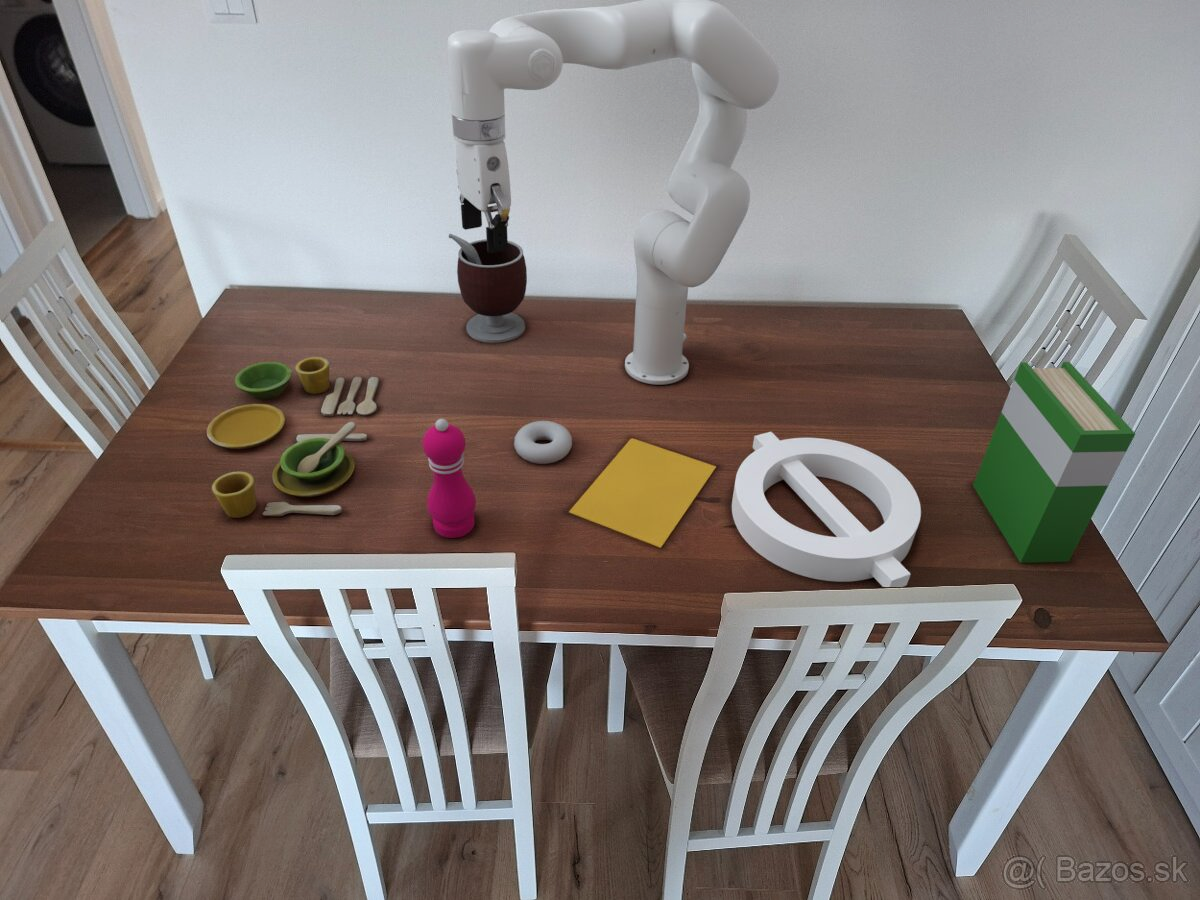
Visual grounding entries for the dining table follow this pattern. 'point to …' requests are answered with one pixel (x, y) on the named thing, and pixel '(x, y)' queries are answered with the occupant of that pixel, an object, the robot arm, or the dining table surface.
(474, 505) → the pepper mill
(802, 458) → the ring with crossbar
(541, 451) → the donut
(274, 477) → the tableware set
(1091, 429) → the hardback book
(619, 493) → the cloth
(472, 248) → the mate gourd
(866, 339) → the dining table surface
